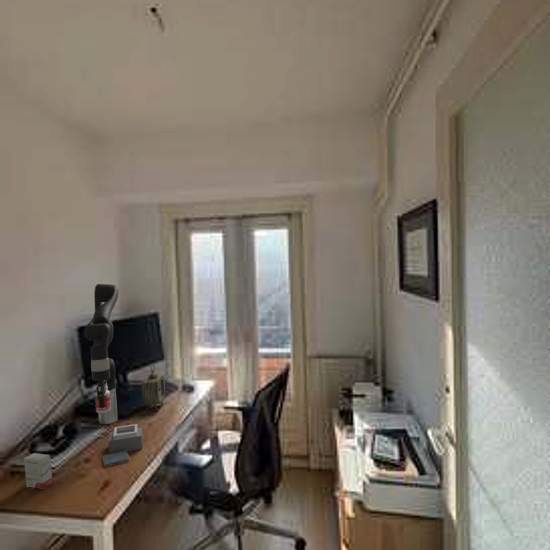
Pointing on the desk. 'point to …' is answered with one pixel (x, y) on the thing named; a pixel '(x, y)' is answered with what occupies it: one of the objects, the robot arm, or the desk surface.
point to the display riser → (125, 439)
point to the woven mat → (115, 458)
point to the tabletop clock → (153, 389)
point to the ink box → (38, 470)
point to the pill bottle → (107, 402)
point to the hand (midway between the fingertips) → (103, 404)
